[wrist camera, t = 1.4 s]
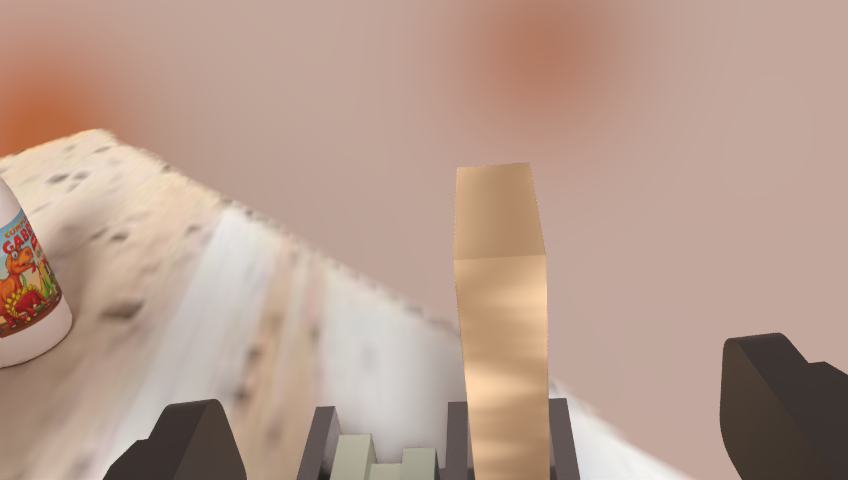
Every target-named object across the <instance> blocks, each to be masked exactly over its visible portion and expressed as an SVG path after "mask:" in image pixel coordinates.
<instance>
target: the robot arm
mask: <svg viewBox="0 0 848 480" xmlns="http://www.w3.org/2000/svg"><path fill="white" fill-rule="evenodd" d="M720 427H721V433H722V437H723V441H724V445H725V448H726V450H727V452H728V455H729V457H730V459H731V461H732V463H733V465H734V466H735V468H736V470H737V472H738V474H739V475H740V477H741V479H742V480H848V375H847V374H845V373H843V372H842V371H840V370H838V369H836V368H835V367H833V366H832V365H830V364H828V363H826V362H816V363H808V362H807V361H806V360H805V358H804V357H803V356H802V355H801V354H800V353H799V351H798V350H797V349H796V348H795V347H794V346H793V344H792V343H791V342H790V341H789V340H788V339H787V337H786V336H784V335H783V334H781V333H770V334H761V335H753V336H745V337H737V338H729V339H727V340H726V341H725V344H724V348H723V361H722V380H721V400H720ZM103 480H247V477H246V472H245V468H244V465H243V462H242V459H241V456H240V454H239V451H238V448H237V445H236V442H235V440H234V437H233V434H232V431H231V428H230V426H229V423H228V420H227V417H226V414H225V412H224V409H223V407H222V405H221V403H220V402H219V401H218V400H216V399H210V400H201V401H193V402H185V403H176V404H170V405H168V406H167V407H166V408H165V409H164V410H163V412H162V414H161V415H160V417H159V419H158V421H157V423H156V425H155V427H154V429H153V430H152V432H151V434H150V436H149V438H148V439H144V440H137V441H136V442H135V443H134V444H133V445H132V446H131V447H130V448H129V449H128V450H127V451H126V452H124V453H123V454H122V455H121V456H120V457H119V458H118V459H117V460H116V461H115V462H114V463H113V464H112V465H111V466H110V468H109V470H108V471H107V473H106V475H105V477H104V478H103Z"/></svg>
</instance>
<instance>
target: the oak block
mask: <svg viewBox="0 0 848 480" xmlns="http://www.w3.org/2000/svg"><path fill="white" fill-rule="evenodd" d="M453 264H454V273H455V284H456V293H457V302H458V313H459V323H460V333H461V343H462V353H463V363H464V373H465V383H466V393H467V403H468V412H469V422H470V432H471V442H472V452H473V462H474V472H475V480H550V455H549V397H548V345H547V344H548V340H547V285H546V284H547V283H546V252H545V246H544V241H543V235H542V230H541V224H540V219H539V213H538V208H537V202H536V197H535V191H534V186H533V180H532V175H531V169H530V164H529V163H515V164H502V165H488V166H475V167H461V168H457V182H456V206H455V229H454V252H453Z"/></svg>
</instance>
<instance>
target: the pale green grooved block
mask: <svg viewBox="0 0 848 480" xmlns="http://www.w3.org/2000/svg"><path fill="white" fill-rule="evenodd" d="M330 480H440V474H439V467H438V460H437V453H436V447H418V448H403V455H402V463H385V464H377V460H376V455H375V450H374V445H373V440H372V436H371V434H353V435H340V436H339V440H338V445H337V449H336V454H335V458H334V463H333V467H332V472H331V476H330Z"/></svg>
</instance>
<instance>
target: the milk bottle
mask: <svg viewBox="0 0 848 480" xmlns="http://www.w3.org/2000/svg"><path fill="white" fill-rule="evenodd" d="M71 325H72V314H71V311H70V309H69V306H68V304H67V302H66V300H65V298H64V295H63V293H62V291H61V289H60V287H59V285H58V282H57V280H56V278H55V276H54V274H53V272H52V270H51V268H50V265H49V263H48V261H47V259H46V257H45V255H44V253H43V250H42V248H41V246H40V244H39V242H38V240H37V238H36V236H35V234H34V232H33V230H32V228H31V225H30V223H29V221H28V219H27V217H26V215H25V213H24V211H23V210H22V208H21V206H20V204H19V202H18V200H17V198H16V197H15V195H14V194H13V192H12V191H11V189H10V188H9V186H8V185H7V184H6V183H5V182H4V180H3V179H2V178H1V177H0V368H1V367H8V366H12V365H16V364H20V363H22V362H25V361H28V360H30V359H33V358H35V357H37V356H39V355H41V354H43V353H44V352H46V351H48V350H49V349H51V348H52V347H54V346H55V345H56V344H58V343H59V342H60V341H61V340H62V339H63V338H64V337H65V336H66V335H67V333H68V332H69V330H70V328H71Z"/></svg>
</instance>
